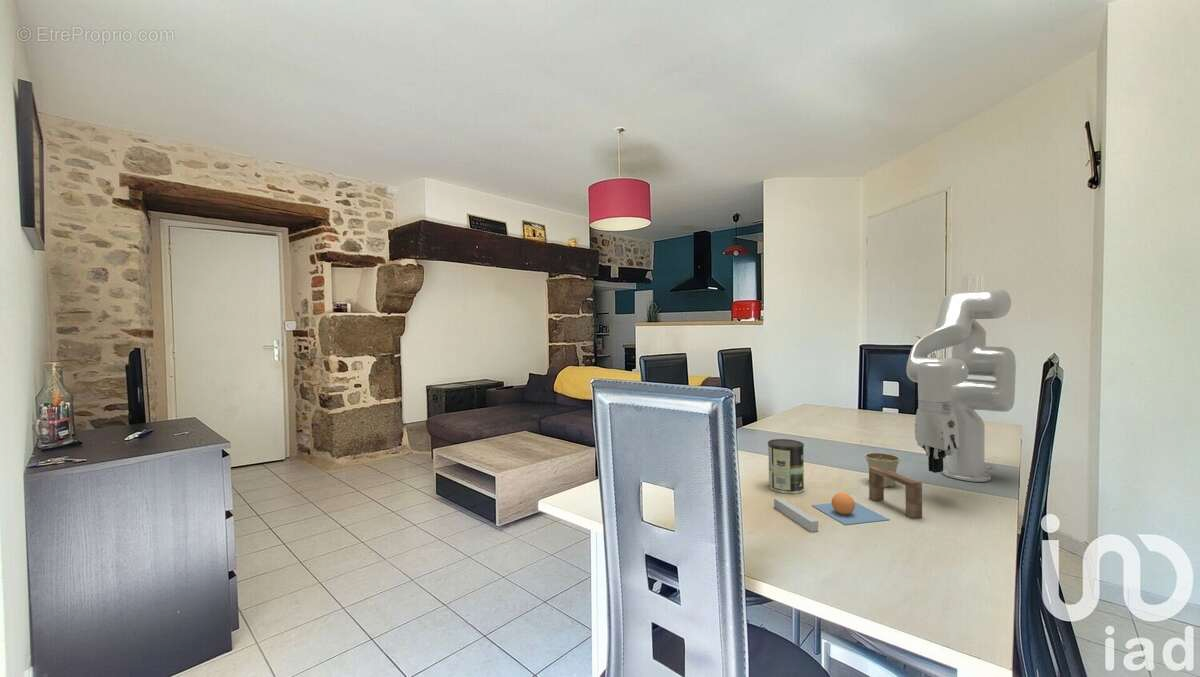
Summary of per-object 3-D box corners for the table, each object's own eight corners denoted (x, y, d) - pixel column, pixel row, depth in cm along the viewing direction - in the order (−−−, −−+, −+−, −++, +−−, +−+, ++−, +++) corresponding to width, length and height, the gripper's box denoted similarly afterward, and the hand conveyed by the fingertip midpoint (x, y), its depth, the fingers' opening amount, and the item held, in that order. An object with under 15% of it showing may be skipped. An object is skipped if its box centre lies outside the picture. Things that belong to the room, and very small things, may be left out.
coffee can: (800, 483, 148) (799, 439, 148) (807, 494, 138) (807, 447, 138) (765, 481, 150) (765, 438, 150) (771, 493, 140) (770, 446, 140)
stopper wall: (780, 506, 129) (780, 497, 129) (818, 531, 114) (818, 520, 114) (774, 507, 129) (774, 498, 129) (810, 531, 113) (810, 521, 113)
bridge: (878, 497, 134) (878, 466, 134) (922, 517, 120) (922, 482, 120) (869, 498, 134) (869, 466, 134) (912, 519, 120) (912, 483, 119)
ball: (831, 513, 126) (847, 504, 127) (846, 521, 121) (862, 511, 122) (824, 495, 125) (840, 486, 126) (838, 503, 120) (855, 493, 121)
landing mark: (852, 501, 132) (852, 500, 132) (889, 520, 119) (889, 519, 119) (811, 505, 129) (811, 505, 129) (844, 525, 117) (844, 524, 117)
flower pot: (869, 487, 143) (869, 459, 143) (861, 478, 152) (861, 451, 152) (904, 490, 140) (904, 461, 140) (894, 480, 149) (894, 453, 149)
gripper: (972, 410, 122) (973, 478, 124) (922, 400, 137) (923, 461, 138) (948, 413, 121) (949, 482, 122) (900, 402, 136) (902, 464, 137)
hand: (935, 471), depth 130 cm, fingers closed
